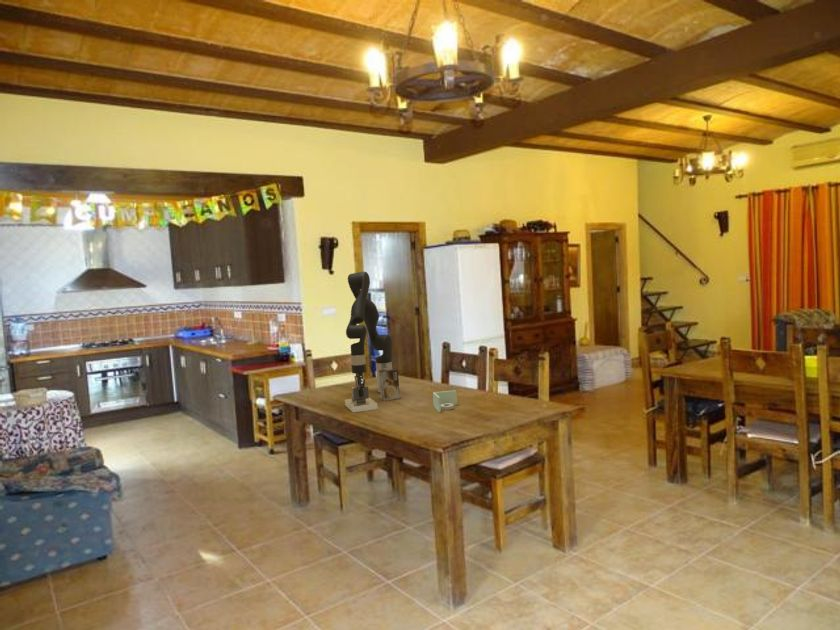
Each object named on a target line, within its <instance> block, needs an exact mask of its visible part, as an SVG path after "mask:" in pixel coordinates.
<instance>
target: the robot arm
mask: <svg viewBox="0 0 840 630" xmlns="http://www.w3.org/2000/svg"><path fill="white" fill-rule="evenodd" d="M347 283H348V286H349V288H350V291H351V293H352V295H353V297H354V299H355V300H354V302H353V303H352V305H351V310H350V319H349V322H348V323H347V326H346V329H345V335H346V337H347V339H350V340H357V339H359V341H358V342H354V343H352V344H350V364H351V365H350V366H351V373H352V374H355V375H354V382H355V383H354V384H355V388H356V387H358V389H359V397H363V396H364V393H363V389H364V388H365V384H366V379H365V376H364V373H366V372H367V360H366V354H365V353H366V352H365V344H366V343H365V342H366V338H367V334H368V337H369V341H370V344H371V347H372V349H373V350H375V351H381V352H382V354H381V355H378V356H377V357H375V371H376V386H377V387H376V388H377V392H378V393H380V394H381V390H380V377H379V370H386V369H393V363H392V362H393V361H392V358H393V343H392V342H393V341H392V336H391V335H389V334H379V333H378V330H377V326H378V322H379V319H380V313H379V311H378V309H377V305H376V303H374V302H373V301H372V300H371V299H369V298H368V294H369V291H370V286H371V278H370V275H369V274H368V272H367V271H359V272H353V273H350V274H348V276H347ZM362 323H364V324H365V325H364V324H362Z"/></svg>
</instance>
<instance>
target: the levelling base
mask: <svg viewBox="0 0 840 630" xmlns="http://www.w3.org/2000/svg"><path fill="white" fill-rule="evenodd" d="M344 406H345V407H347V409H348V410H349V411H351V413H359V412H366V411H374V410H378V402H376V401H375V400H373V398H371V397H370V396H369V398H368V399H366V402H363V403H357V402H356V400H353V394H352V395H351V398H346V399H344Z"/></svg>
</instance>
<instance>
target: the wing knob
mask: <svg viewBox="0 0 840 630" xmlns="http://www.w3.org/2000/svg"><path fill="white" fill-rule="evenodd" d="M351 391H352V393H351V394H352V395H353V400H356V402H357V403H363V402H366V399H368V398H369V397H370V392H369V386H365V388H364V389H363V393H364V396H363V397H359V389H358V387H356V386H352V387H351Z"/></svg>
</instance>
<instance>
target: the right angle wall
mask: <svg viewBox="0 0 840 630" xmlns="http://www.w3.org/2000/svg"><path fill="white" fill-rule="evenodd" d="M457 398H458V397H457V390H455V389H454V390H445V391H434V392H432V399H433V400H432V402H433V403H432V404H433V408H434V409H435V410H436V411H437V412H438V413H441V411H450V410H451V409H452V410H454V408H455V406H457V405H458V402H457V400H458V399H457ZM452 410H451V411H452Z"/></svg>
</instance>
